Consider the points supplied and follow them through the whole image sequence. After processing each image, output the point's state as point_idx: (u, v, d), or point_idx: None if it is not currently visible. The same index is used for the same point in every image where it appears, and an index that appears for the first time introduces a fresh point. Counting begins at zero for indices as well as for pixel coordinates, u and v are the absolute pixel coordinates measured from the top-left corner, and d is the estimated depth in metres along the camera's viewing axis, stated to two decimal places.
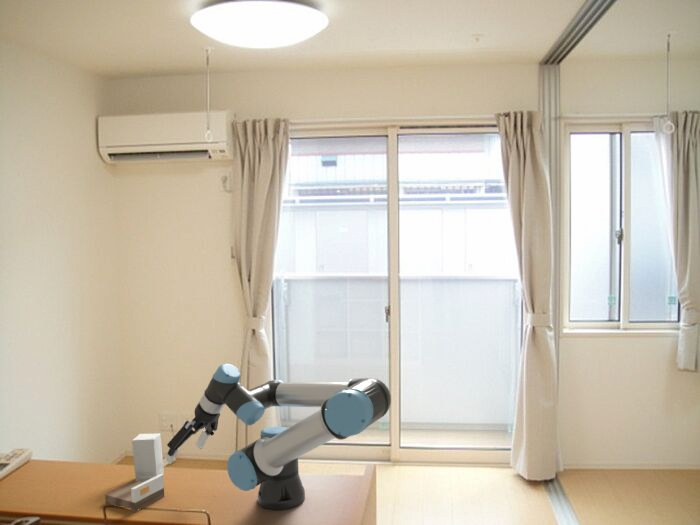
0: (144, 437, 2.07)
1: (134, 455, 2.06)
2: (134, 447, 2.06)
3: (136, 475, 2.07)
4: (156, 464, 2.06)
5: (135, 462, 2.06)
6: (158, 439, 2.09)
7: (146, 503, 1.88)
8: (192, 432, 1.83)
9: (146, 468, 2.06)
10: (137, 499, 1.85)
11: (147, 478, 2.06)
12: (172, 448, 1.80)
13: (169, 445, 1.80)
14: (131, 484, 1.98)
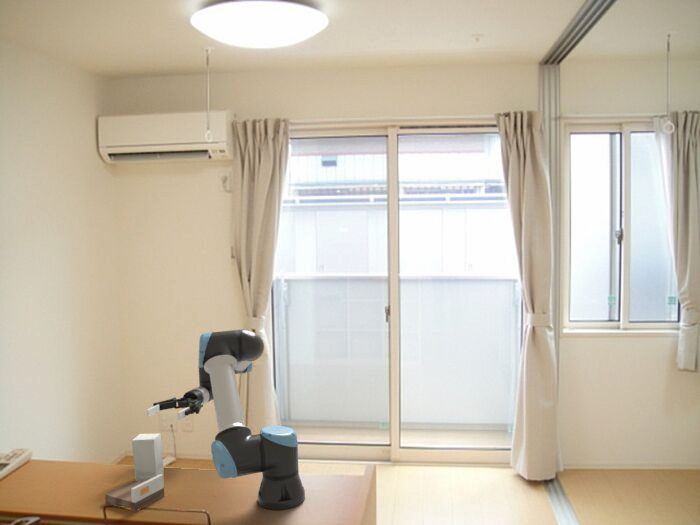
0: (144, 437, 2.07)
1: (134, 455, 2.06)
2: (134, 447, 2.06)
3: (136, 475, 2.07)
4: (156, 464, 2.06)
5: (135, 462, 2.06)
6: (158, 439, 2.09)
7: (146, 503, 1.88)
8: None
9: (146, 468, 2.06)
10: (137, 499, 1.85)
11: (147, 478, 2.06)
12: None
13: None
14: (131, 484, 1.98)
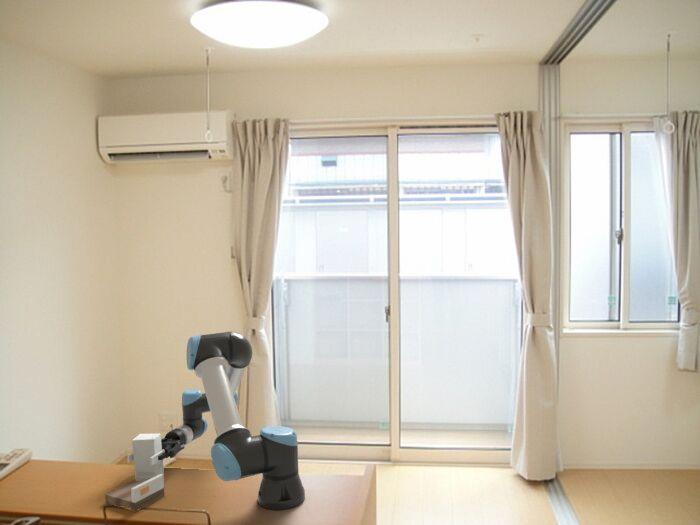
0: (144, 437, 2.07)
1: (134, 455, 2.06)
2: (134, 447, 2.06)
3: (136, 475, 2.07)
4: (156, 464, 2.06)
5: (135, 462, 2.06)
6: (158, 439, 2.09)
7: (146, 503, 1.88)
8: None
9: (146, 468, 2.06)
10: (137, 499, 1.85)
11: (147, 478, 2.06)
12: None
13: None
14: (131, 484, 1.98)
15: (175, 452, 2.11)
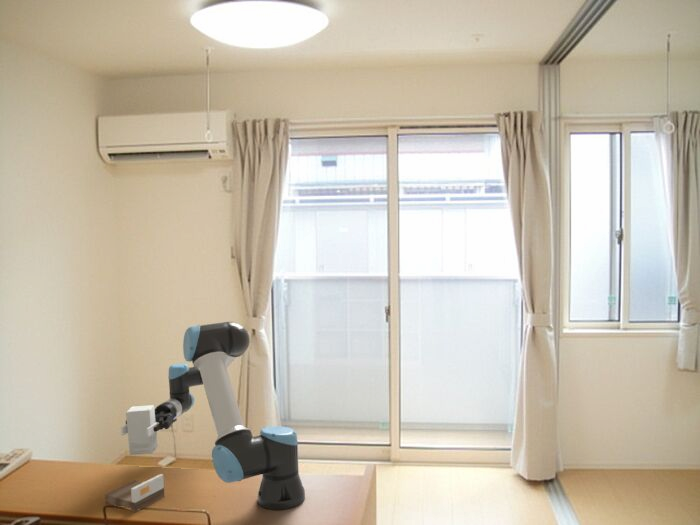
0: (138, 409, 2.02)
1: (128, 427, 2.01)
2: (128, 419, 2.01)
3: (130, 448, 2.02)
4: (151, 436, 2.02)
5: (129, 434, 2.01)
6: (152, 411, 2.04)
7: (146, 503, 1.88)
8: None
9: (141, 440, 2.01)
10: (137, 499, 1.85)
11: (142, 450, 2.02)
12: None
13: None
14: (131, 484, 1.98)
15: (169, 423, 2.08)
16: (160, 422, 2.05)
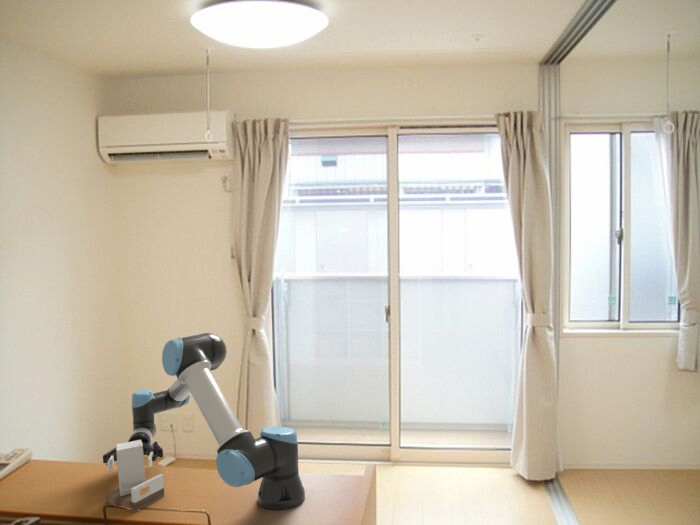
0: (129, 446, 1.91)
1: (119, 467, 1.88)
2: (120, 457, 1.88)
3: (121, 488, 1.89)
4: (144, 472, 1.92)
5: (120, 474, 1.89)
6: None
7: (146, 503, 1.88)
8: None
9: (134, 478, 1.90)
10: (137, 499, 1.85)
11: None
12: None
13: None
14: None
15: None
16: (155, 451, 1.97)
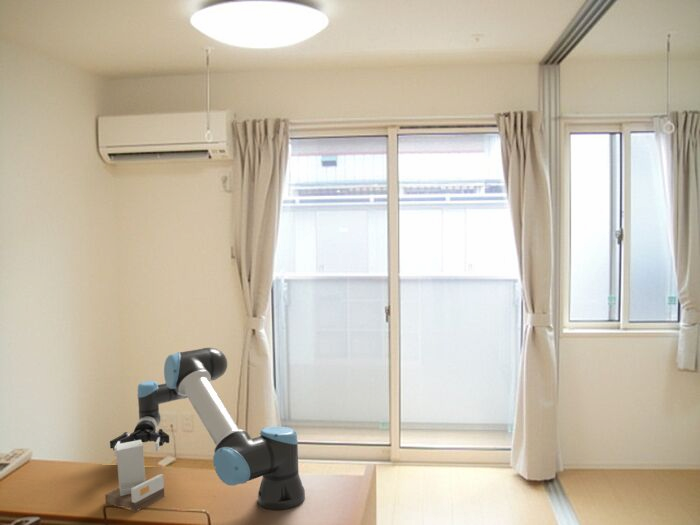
0: (129, 446, 1.91)
1: (119, 467, 1.88)
2: (120, 457, 1.88)
3: (121, 488, 1.89)
4: (144, 472, 1.92)
5: (120, 474, 1.89)
6: None
7: (146, 503, 1.88)
8: None
9: (134, 478, 1.90)
10: (137, 499, 1.85)
11: None
12: None
13: None
14: None
15: None
16: (162, 436, 2.10)
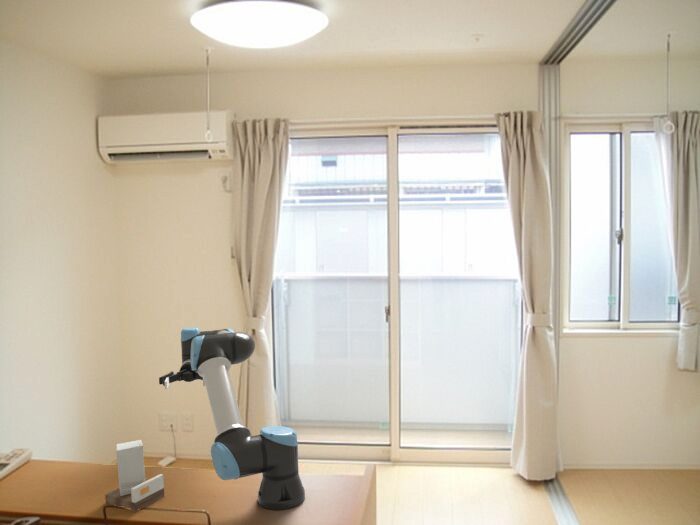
0: (129, 446, 1.91)
1: (119, 467, 1.88)
2: (120, 457, 1.88)
3: (121, 488, 1.89)
4: (144, 472, 1.92)
5: (120, 474, 1.89)
6: None
7: (146, 503, 1.88)
8: None
9: (134, 478, 1.90)
10: (137, 499, 1.85)
11: None
12: None
13: None
14: None
15: None
16: None
